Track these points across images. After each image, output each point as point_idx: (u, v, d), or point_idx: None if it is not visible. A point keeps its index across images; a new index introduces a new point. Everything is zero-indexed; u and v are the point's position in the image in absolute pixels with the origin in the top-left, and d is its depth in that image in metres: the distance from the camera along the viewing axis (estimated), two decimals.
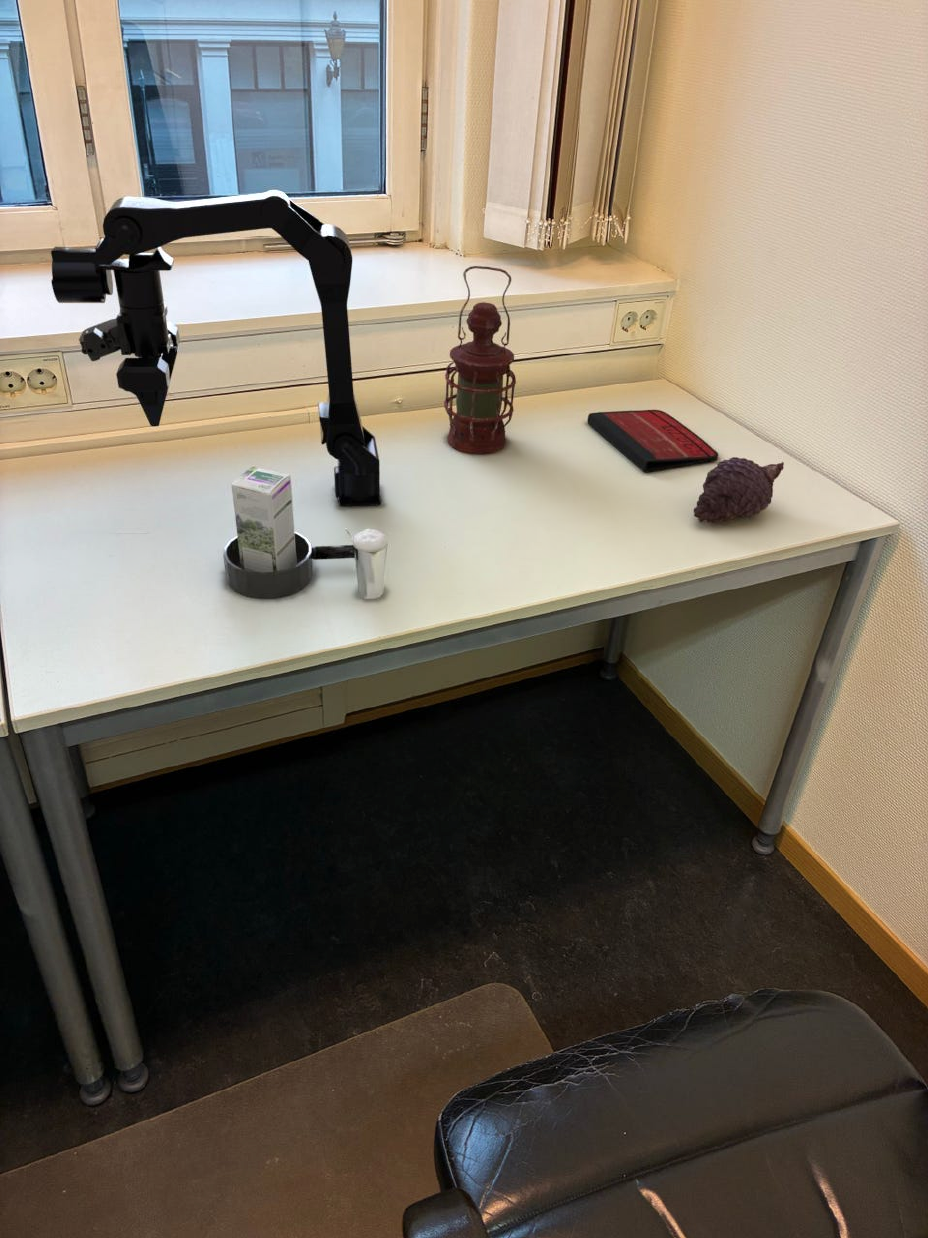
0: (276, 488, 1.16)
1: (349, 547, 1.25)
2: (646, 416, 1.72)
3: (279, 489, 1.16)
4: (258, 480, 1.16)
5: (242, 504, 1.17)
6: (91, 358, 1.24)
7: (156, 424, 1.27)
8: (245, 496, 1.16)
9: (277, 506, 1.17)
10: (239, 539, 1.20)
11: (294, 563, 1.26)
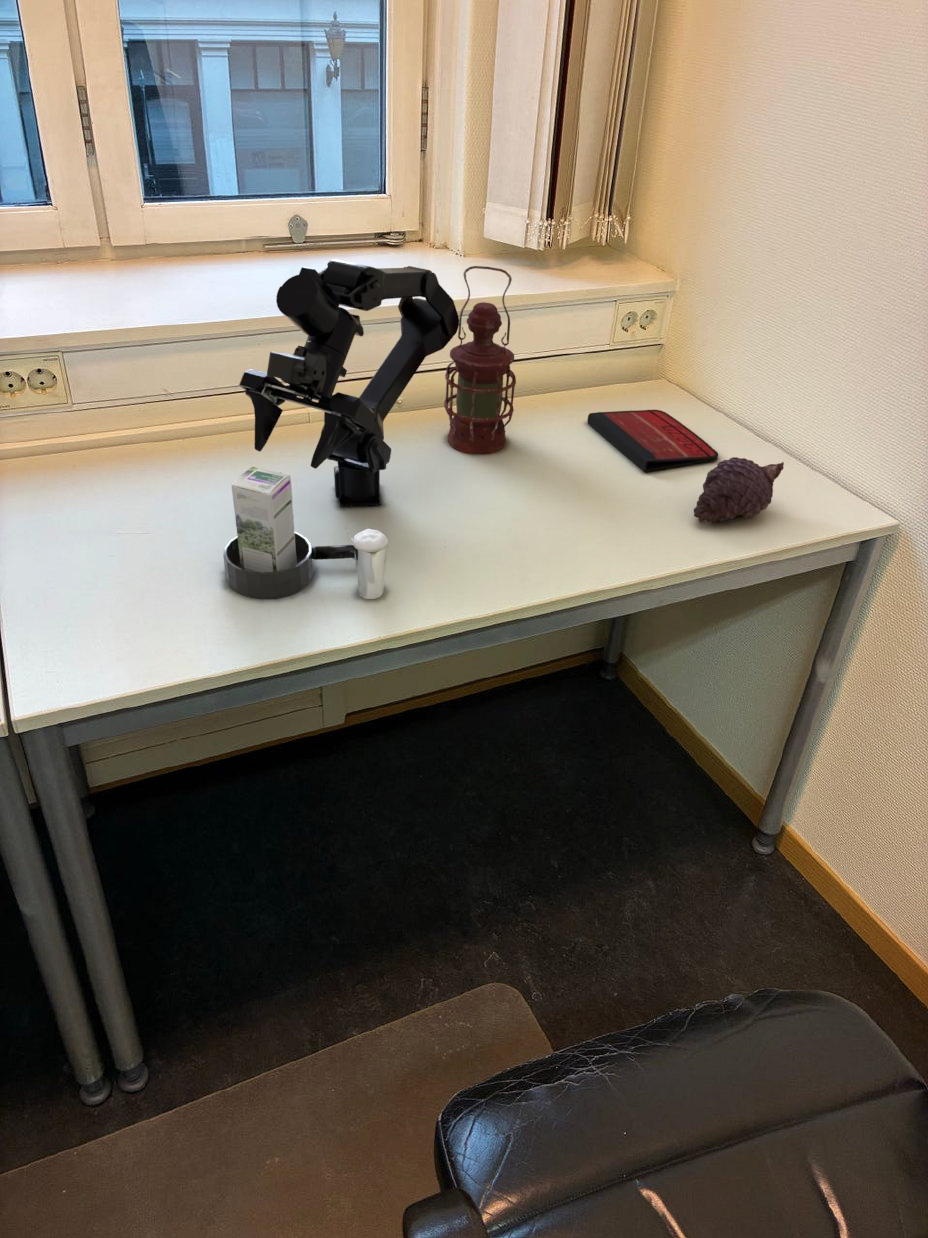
0: (276, 488, 1.16)
1: (349, 547, 1.25)
2: (646, 416, 1.72)
3: (279, 489, 1.16)
4: (258, 480, 1.16)
5: (242, 504, 1.17)
6: (294, 380, 1.16)
7: (317, 465, 1.22)
8: (245, 496, 1.16)
9: (277, 506, 1.17)
10: (239, 539, 1.20)
11: (294, 563, 1.26)
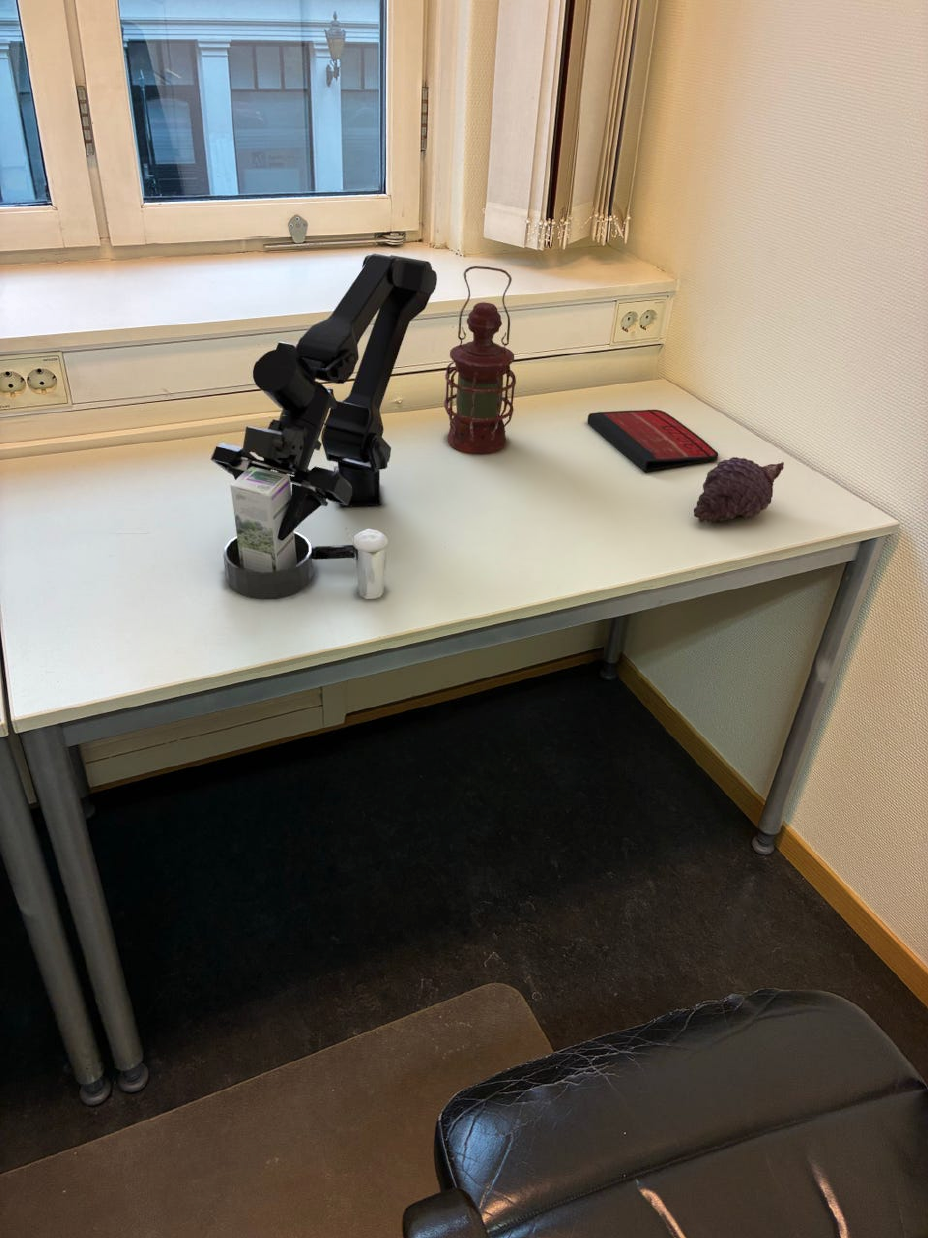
0: (276, 489, 1.15)
1: (349, 547, 1.25)
2: (646, 416, 1.72)
3: (278, 490, 1.16)
4: (257, 481, 1.16)
5: (242, 504, 1.16)
6: (272, 455, 1.14)
7: (283, 537, 1.20)
8: (244, 496, 1.16)
9: (276, 506, 1.17)
10: (238, 539, 1.20)
11: (294, 563, 1.26)
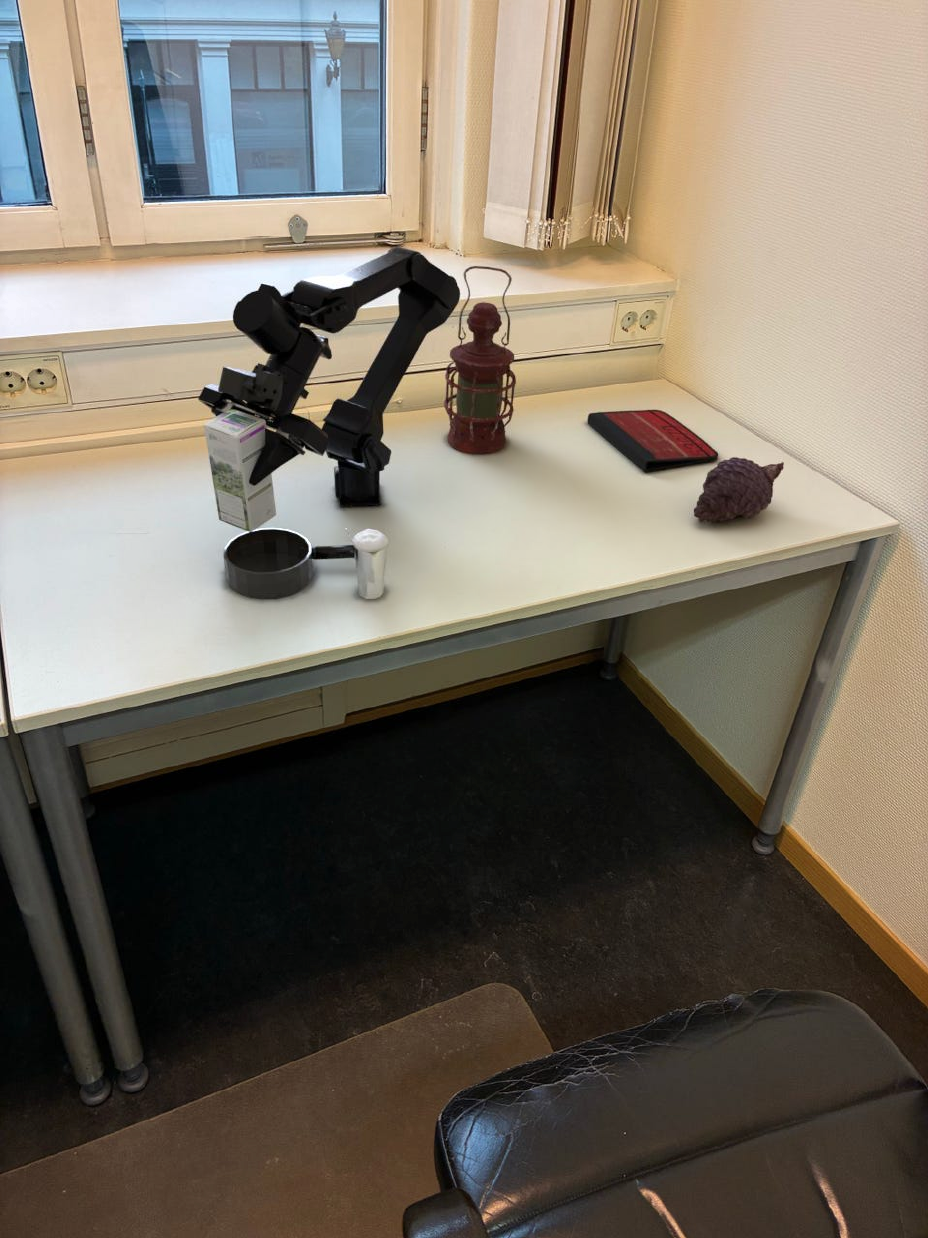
0: (246, 431, 1.15)
1: (349, 547, 1.25)
2: (646, 416, 1.72)
3: (250, 433, 1.15)
4: (230, 422, 1.16)
5: (214, 445, 1.16)
6: (243, 396, 1.13)
7: (255, 482, 1.19)
8: (215, 437, 1.15)
9: (247, 450, 1.16)
10: (214, 481, 1.20)
11: (271, 511, 1.25)
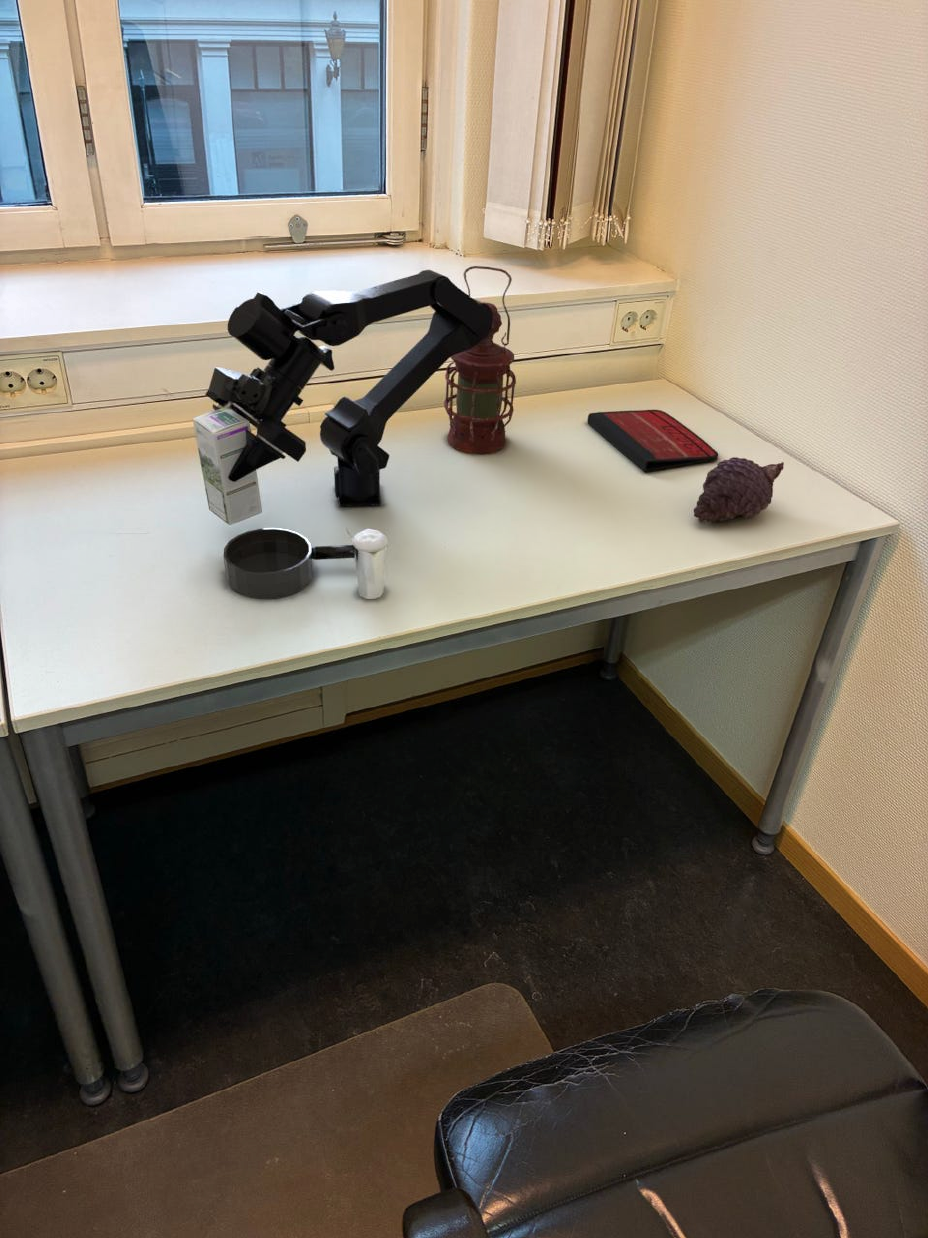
0: (225, 430, 1.21)
1: (349, 547, 1.25)
2: (646, 416, 1.72)
3: (230, 432, 1.21)
4: (216, 419, 1.22)
5: (200, 439, 1.23)
6: (225, 397, 1.19)
7: (235, 479, 1.25)
8: (200, 431, 1.22)
9: (226, 447, 1.22)
10: (202, 472, 1.27)
11: (256, 508, 1.30)
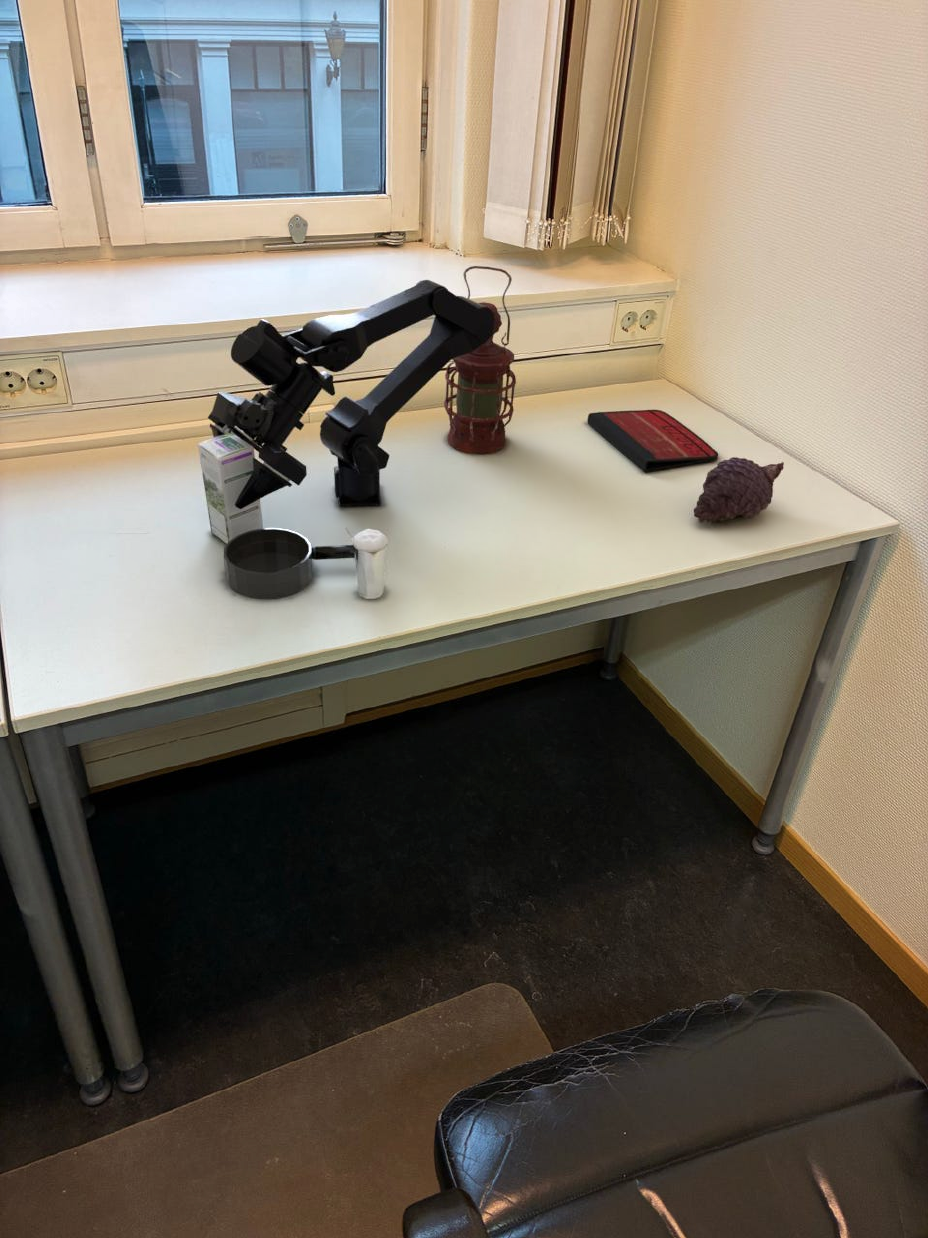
0: (230, 455, 1.23)
1: (349, 547, 1.25)
2: (646, 416, 1.72)
3: (234, 457, 1.24)
4: (221, 445, 1.25)
5: (204, 463, 1.26)
6: (227, 421, 1.21)
7: (241, 506, 1.26)
8: (205, 456, 1.25)
9: (230, 472, 1.24)
10: (206, 496, 1.30)
11: None
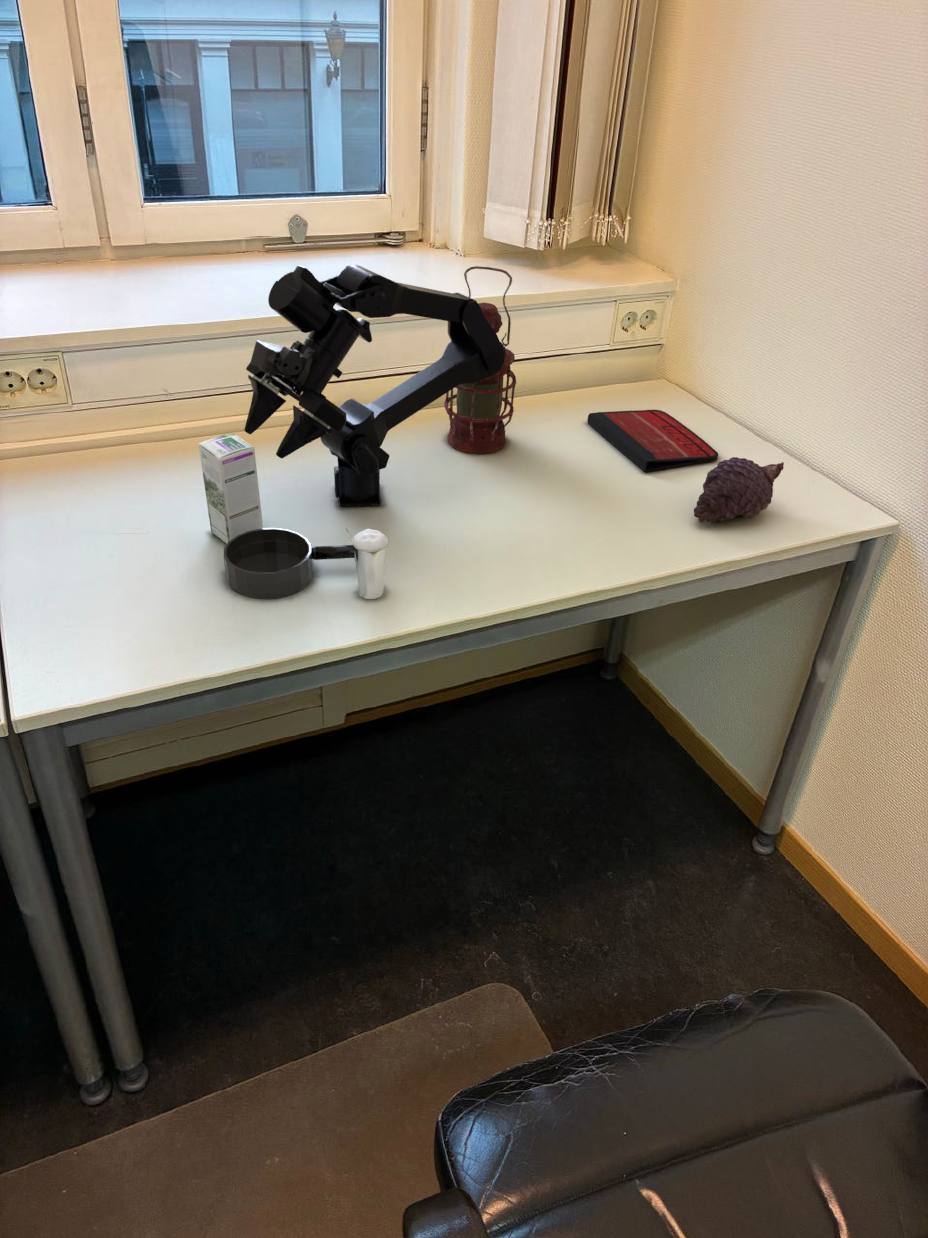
0: (230, 455, 1.23)
1: (349, 547, 1.25)
2: (646, 416, 1.72)
3: (235, 457, 1.24)
4: (221, 445, 1.25)
5: (205, 463, 1.26)
6: (267, 369, 1.21)
7: (282, 455, 1.26)
8: (206, 456, 1.25)
9: (231, 472, 1.24)
10: (206, 496, 1.30)
11: None
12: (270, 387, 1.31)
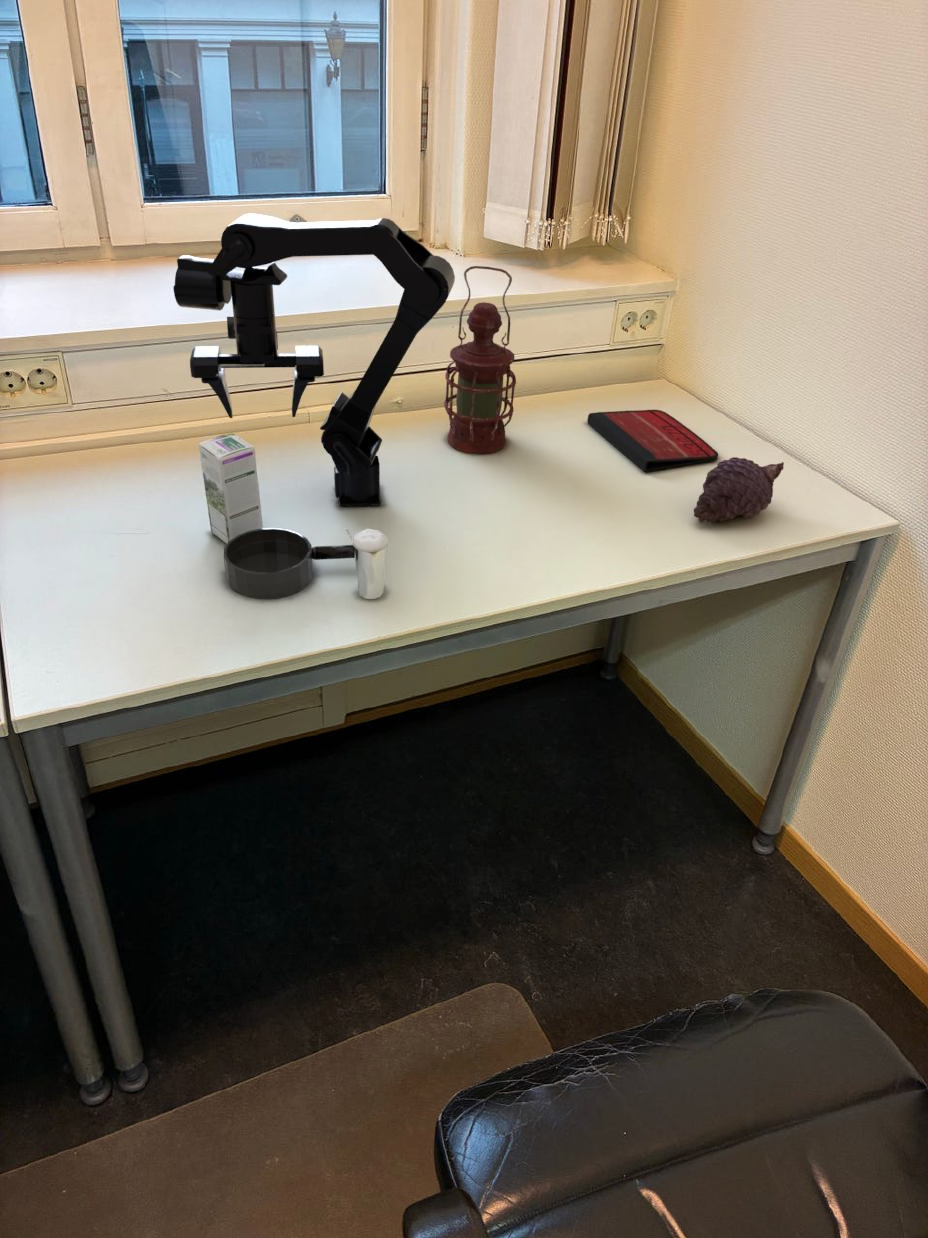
0: (230, 455, 1.23)
1: (349, 547, 1.25)
2: (646, 416, 1.72)
3: (235, 457, 1.24)
4: (221, 445, 1.25)
5: (205, 463, 1.26)
6: None
7: (228, 415, 1.37)
8: (206, 456, 1.25)
9: (231, 472, 1.24)
10: (206, 496, 1.30)
11: None
12: None
